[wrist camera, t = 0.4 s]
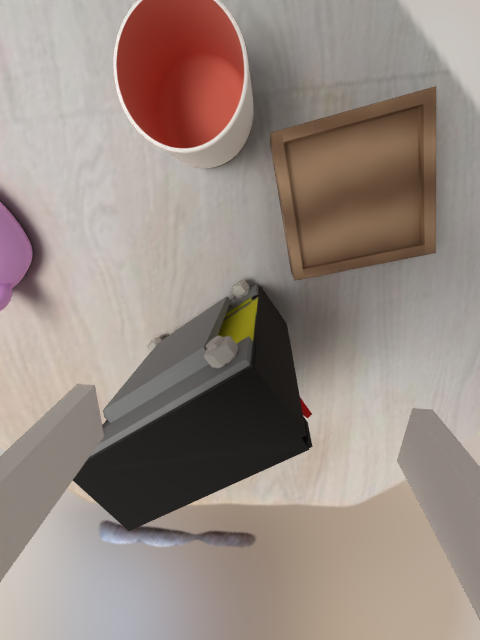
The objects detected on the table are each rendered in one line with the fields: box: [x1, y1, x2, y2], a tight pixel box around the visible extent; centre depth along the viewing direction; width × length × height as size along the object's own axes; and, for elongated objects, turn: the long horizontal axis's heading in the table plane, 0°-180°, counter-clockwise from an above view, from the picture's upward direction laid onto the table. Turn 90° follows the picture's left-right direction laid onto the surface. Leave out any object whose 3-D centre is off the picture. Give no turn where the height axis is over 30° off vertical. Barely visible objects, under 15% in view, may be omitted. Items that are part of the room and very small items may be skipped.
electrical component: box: [73, 280, 312, 531], centre depth 30 cm, size 18×10×20 cm, turn 125°
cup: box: [113, 0, 254, 168], centre depth 25 cm, size 10×10×10 cm
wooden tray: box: [270, 86, 436, 280], centre depth 30 cm, size 14×14×4 cm
